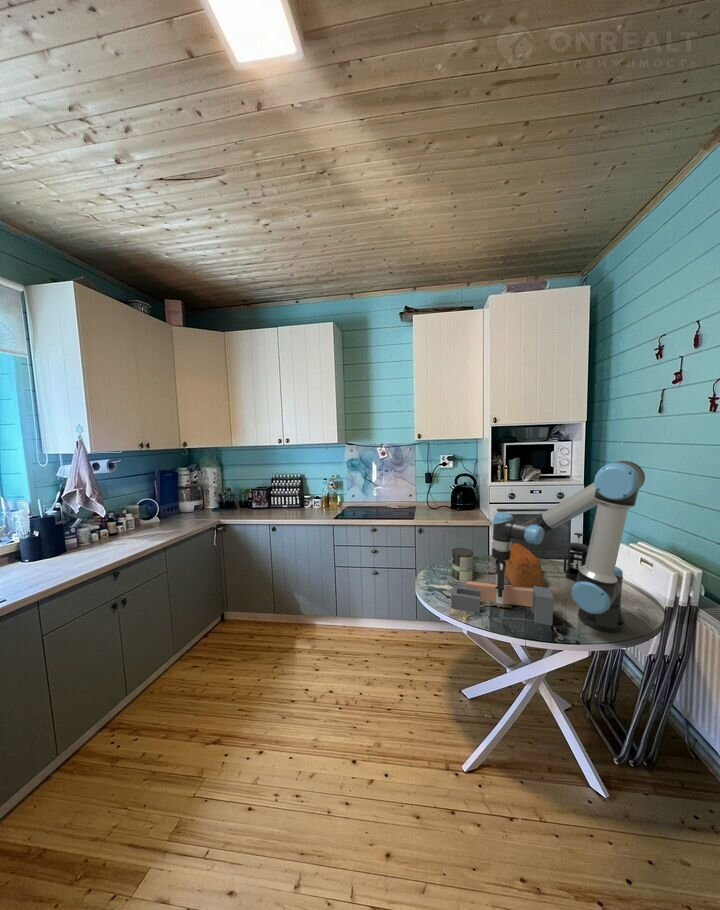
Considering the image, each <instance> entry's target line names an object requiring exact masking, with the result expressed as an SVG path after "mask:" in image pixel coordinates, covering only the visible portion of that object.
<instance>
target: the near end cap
mask: <svg viewBox="0 0 720 910" xmlns="http://www.w3.org/2000/svg"><path fill="white" fill-rule="evenodd" d="M554 602H555V601H554V596H553V593H552V591H551V589H550V587H543V586H542V587H538V586H533V605H532V607H531V609H532V610H531V613H532V614H533V615H534V623H535V624H541V625H544V626H545V625H547V626H550V627H551V626H553V621H554V620H553V619H554V618H553V617H554V616H553V615H554Z"/></svg>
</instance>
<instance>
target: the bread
mask: <svg viewBox="0 0 720 910" xmlns="http://www.w3.org/2000/svg"><path fill="white" fill-rule="evenodd" d="M510 551H511V556H510V559H509V560H505V563H506V567H505V574H504V578H506V579H507V580H508V582H510V584H511V586H515V587H524V588H533V586H538V587H543V585H544V582H543V569H542V565H541V564H542V563H541V561H540V559H539V558H537V556H535V555H534V554H533V552H531V551H530V550H529V549H528V548H526V547H525V546H523V545H522V544H520V543H515V542H514V543H513V542H511V550H510Z"/></svg>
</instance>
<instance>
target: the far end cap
mask: <svg viewBox="0 0 720 910" xmlns="http://www.w3.org/2000/svg"><path fill="white" fill-rule="evenodd" d="M480 591H481V590H480V589H474V588H467V587H465V586H460V585H453V586H452V589H451V596H450V598H451V600H450V609H453V610H458V611H465V612H471V613H476V614H480V613H481V600H480Z"/></svg>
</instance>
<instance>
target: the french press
mask: <svg viewBox="0 0 720 910" xmlns="http://www.w3.org/2000/svg"><path fill="white" fill-rule="evenodd" d="M573 534H574V535H575V536H577V539H578V540H577V541H578V542H569V543H567V546H568V550H570V551H569V552H567V554H564V557H563V568H562V569H563V573H565V577H566V578H567V579H568V580H570V581H573V582H576V581H577V576H578V572H579V568H580V567H581V566H584V565H585V563H586V558H587V554H585V553H588V549H589V545H587V544H584V543H580V538H581V537H583V536H585V534H584V533H580V532H574V533H573ZM575 555H577V557H575ZM579 556H581V557H584V558H581V557H579ZM575 561H576V562H575ZM579 562H580V563H579Z"/></svg>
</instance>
